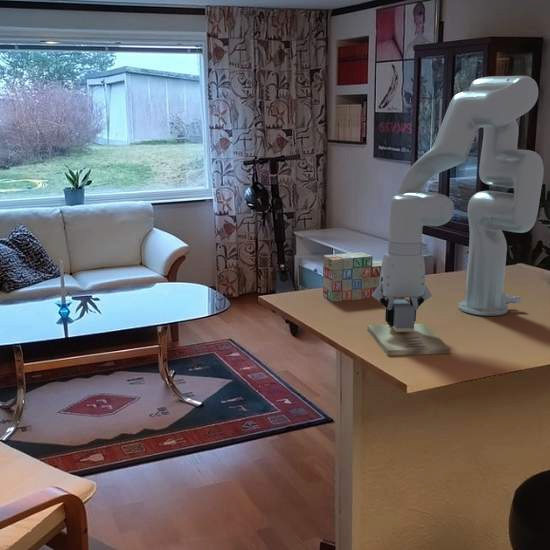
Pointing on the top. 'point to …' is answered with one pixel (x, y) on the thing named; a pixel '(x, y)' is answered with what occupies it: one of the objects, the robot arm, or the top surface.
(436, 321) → the top surface
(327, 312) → the top surface
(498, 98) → the robot arm
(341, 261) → the stack of blocks
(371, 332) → the board
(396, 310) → the block
